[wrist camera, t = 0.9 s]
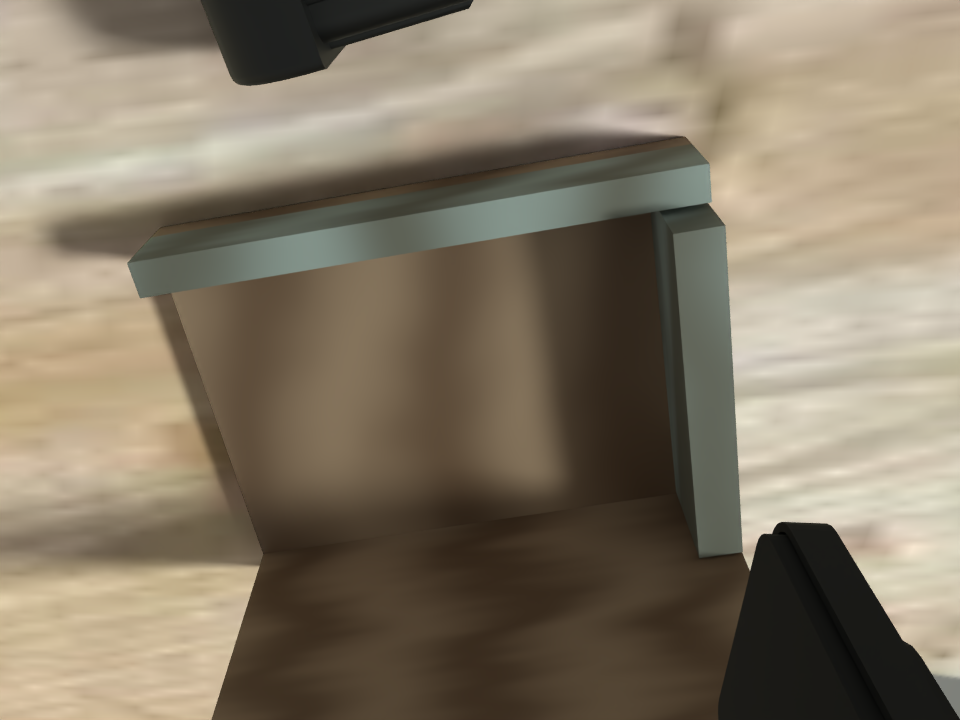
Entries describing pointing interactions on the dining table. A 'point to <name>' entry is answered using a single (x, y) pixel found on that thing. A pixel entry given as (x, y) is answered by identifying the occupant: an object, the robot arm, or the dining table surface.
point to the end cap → (306, 31)
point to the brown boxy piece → (477, 441)
